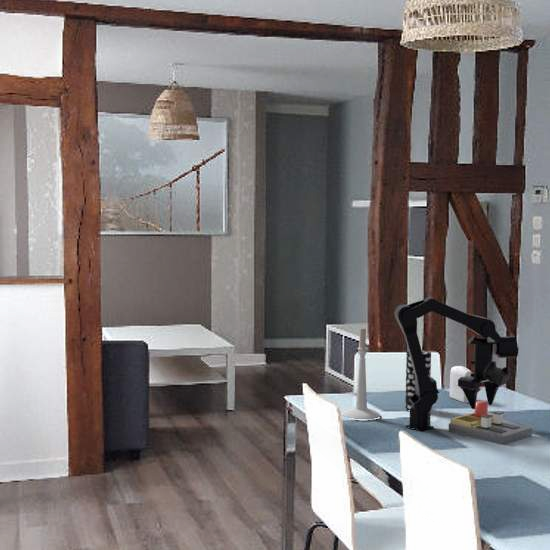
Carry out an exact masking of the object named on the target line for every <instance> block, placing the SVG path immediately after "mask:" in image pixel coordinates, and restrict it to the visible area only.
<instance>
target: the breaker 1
mask: <svg viewBox="0 0 550 550" xmlns="http://www.w3.org/2000/svg"><path fill="white" fill-rule="evenodd" d="M492 415H493V414H492ZM492 415H487V414H485V415H481V427H485V428H488V427H491V417H492Z"/></svg>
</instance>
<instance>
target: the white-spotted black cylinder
mask: <svg viewBox="0 0 550 550" xmlns="http://www.w3.org/2000/svg"><path fill="white" fill-rule="evenodd" d="M422 354H423V358H424V361H425V365H426V369H427V373H428V376H429V378H431V377H432V376H431V375H432V374H431V373H432V371H431V370H432V352H431V351H425V350H422ZM405 356H406V357H405V358H406V359H405V360H406V362H405V365H406V366H405V400H404V402H405V406H404V409H405V408H406V409H407V410H410V409H411V407H412V406H411V405H410V403H409V398H410V397H411V396H412V395H414V394H415V393H416V392H415V374H414V370H413V366H412V363H411V359H410V355H409V351H408V350H407V351H406V355H405Z"/></svg>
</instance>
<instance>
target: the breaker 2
mask: <svg viewBox="0 0 550 550" xmlns="http://www.w3.org/2000/svg"><path fill="white" fill-rule="evenodd" d="M492 413H493V414H492V415H493V423H497V424H501V423H503V422H504V414H505V413H504V411H501V410H496V411H495V410H494V411H493V412H492Z"/></svg>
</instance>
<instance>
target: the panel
mask: <svg viewBox="0 0 550 550" xmlns="http://www.w3.org/2000/svg"><path fill="white" fill-rule="evenodd" d="M474 415H475V412H471V413H467V414H464V415H459V416H455V417H452V418H450V423H448V433H449V432H450V433H453V434H457V435H461V436H462V435H463V436H465V437H470V438H474V439H478V440H481V441H485V442H486V441H487V442H490V443H495V444H499V445H507V444H510V443H513V441H514V442H517V441H520V440H523V439H525V438H526V437H527V438H529V436H530V437H532V436H533V427H530V426H527V425H520V424H517V423H511V422H506V421H503V423H501V424H497V423H493V415H494V414H490V413H488V415H492V417H491V427H488V428H485V427H481V418H478V417H474Z"/></svg>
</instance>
